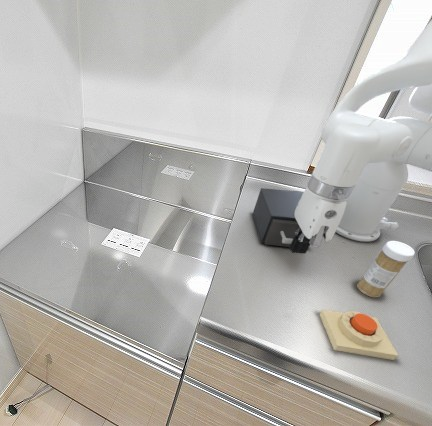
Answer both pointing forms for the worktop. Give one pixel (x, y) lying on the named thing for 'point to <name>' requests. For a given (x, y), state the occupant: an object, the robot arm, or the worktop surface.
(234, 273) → the worktop surface
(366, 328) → the button
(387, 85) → the robot arm
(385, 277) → the sprinkles bottle
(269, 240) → the drawer
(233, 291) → the worktop surface
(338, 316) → the control pad
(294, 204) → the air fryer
